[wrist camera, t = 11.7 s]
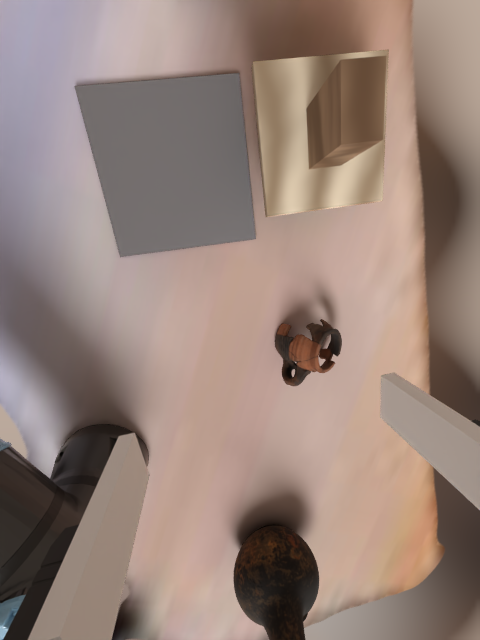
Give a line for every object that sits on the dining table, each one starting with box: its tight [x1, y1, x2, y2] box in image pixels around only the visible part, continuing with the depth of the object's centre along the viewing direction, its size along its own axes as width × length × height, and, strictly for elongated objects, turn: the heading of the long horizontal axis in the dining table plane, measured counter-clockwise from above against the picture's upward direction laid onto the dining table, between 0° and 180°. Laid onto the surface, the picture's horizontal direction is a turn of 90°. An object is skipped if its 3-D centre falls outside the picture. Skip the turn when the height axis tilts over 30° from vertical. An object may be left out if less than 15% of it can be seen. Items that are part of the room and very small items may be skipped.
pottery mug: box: [275, 319, 342, 386], centre depth 41 cm, size 12×10×8 cm
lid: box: [251, 50, 389, 217], centre depth 25 cm, size 15×15×8 cm
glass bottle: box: [234, 525, 319, 640], centre depth 44 cm, size 18×18×28 cm
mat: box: [75, 73, 256, 257], centre depth 33 cm, size 20×20×1 cm
